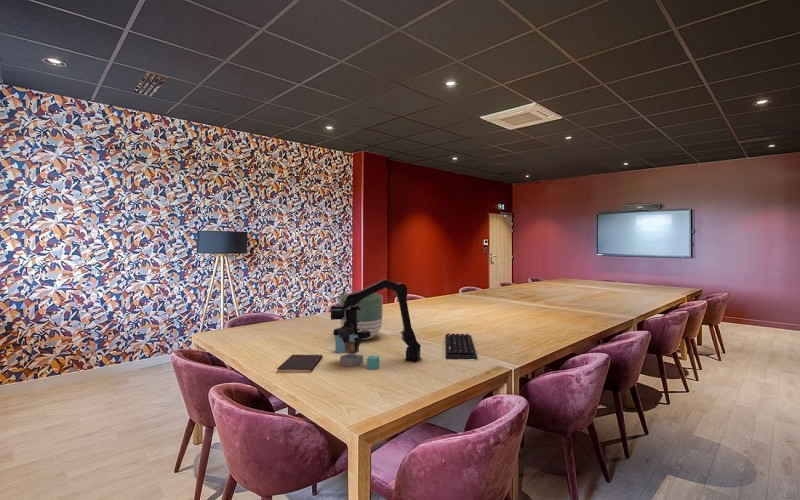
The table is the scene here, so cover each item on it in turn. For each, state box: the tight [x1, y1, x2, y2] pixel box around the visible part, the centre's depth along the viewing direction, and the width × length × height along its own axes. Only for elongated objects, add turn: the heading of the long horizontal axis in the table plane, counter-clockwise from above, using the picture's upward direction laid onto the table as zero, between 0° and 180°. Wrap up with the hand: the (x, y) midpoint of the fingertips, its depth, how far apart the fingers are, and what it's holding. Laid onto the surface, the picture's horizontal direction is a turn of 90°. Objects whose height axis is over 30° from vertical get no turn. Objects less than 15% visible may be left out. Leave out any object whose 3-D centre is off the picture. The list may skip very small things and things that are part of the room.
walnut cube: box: [344, 341, 360, 354], centre depth 192 cm, size 5×5×5 cm
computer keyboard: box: [444, 333, 478, 360], centre depth 220 cm, size 45×16×4 cm, turn 173°
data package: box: [334, 335, 356, 354], centre depth 214 cm, size 12×4×12 cm, turn 100°
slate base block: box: [339, 353, 364, 368], centre depth 192 cm, size 8×8×4 cm
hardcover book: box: [276, 354, 323, 374], centre depth 190 cm, size 16×23×2 cm
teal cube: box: [366, 355, 380, 370], centre depth 185 cm, size 5×5×5 cm
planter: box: [339, 292, 384, 341], centre depth 242 cm, size 27×27×27 cm
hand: (351, 350), depth 192 cm, fingers closed on walnut cube, 5 cm apart
